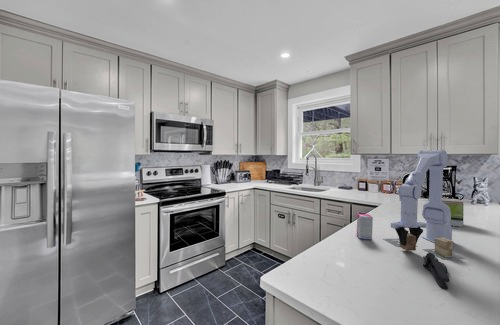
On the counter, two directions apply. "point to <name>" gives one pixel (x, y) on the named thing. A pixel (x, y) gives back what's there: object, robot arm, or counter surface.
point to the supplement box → (364, 226)
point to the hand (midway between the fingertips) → (408, 244)
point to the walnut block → (410, 243)
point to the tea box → (455, 211)
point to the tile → (394, 242)
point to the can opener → (436, 269)
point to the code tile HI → (453, 257)
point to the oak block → (443, 246)
